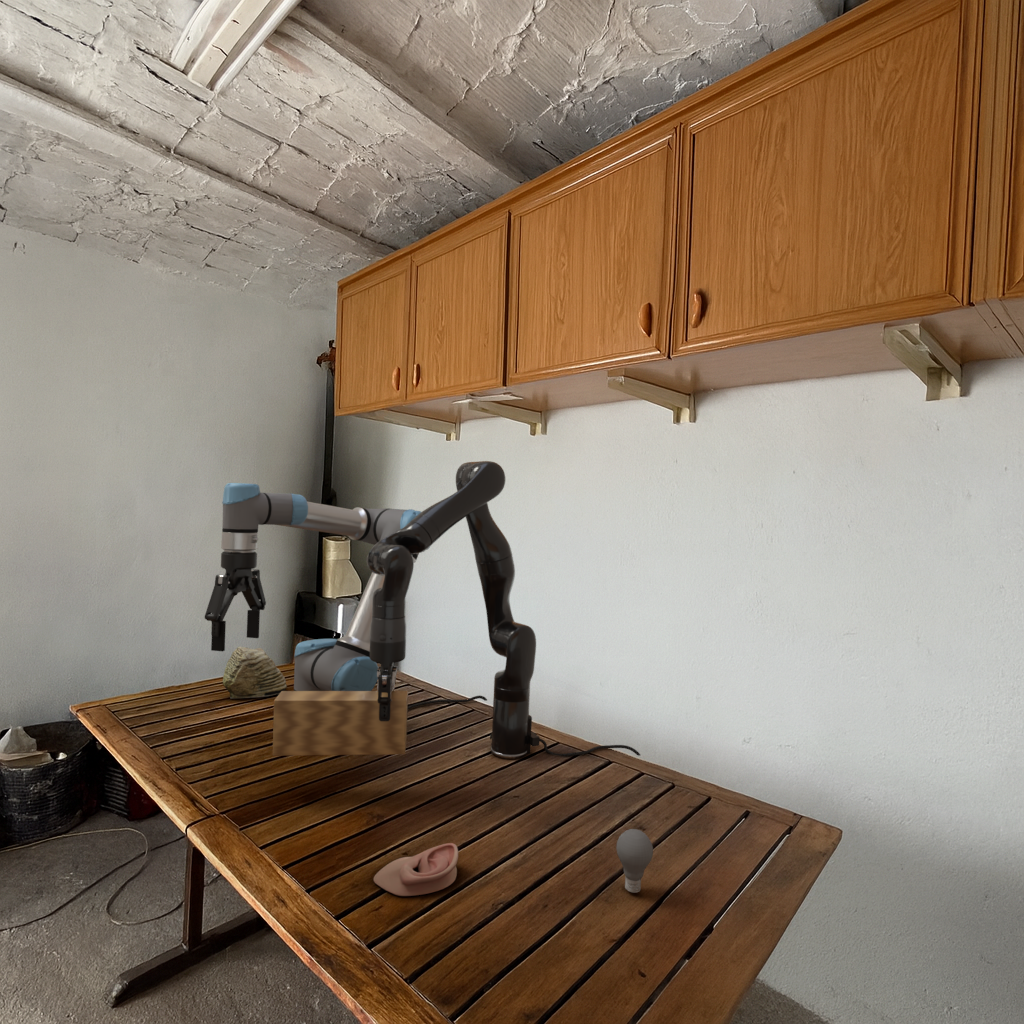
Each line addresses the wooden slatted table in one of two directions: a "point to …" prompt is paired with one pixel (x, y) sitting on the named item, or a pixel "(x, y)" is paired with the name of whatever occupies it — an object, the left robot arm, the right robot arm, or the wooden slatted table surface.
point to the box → (338, 723)
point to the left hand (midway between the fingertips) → (236, 644)
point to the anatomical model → (420, 872)
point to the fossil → (252, 674)
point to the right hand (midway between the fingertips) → (386, 714)
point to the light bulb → (634, 857)
